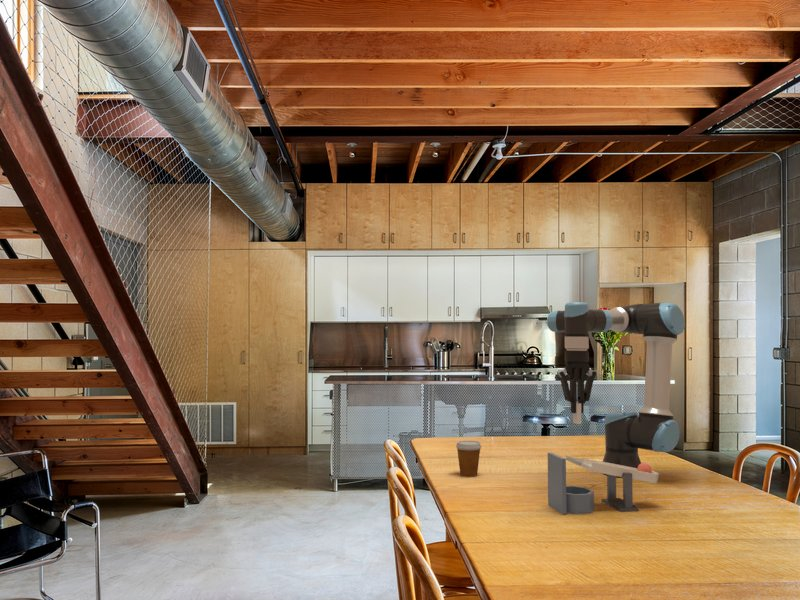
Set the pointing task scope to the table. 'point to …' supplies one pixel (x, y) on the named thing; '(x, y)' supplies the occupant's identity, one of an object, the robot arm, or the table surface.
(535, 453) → the table surface
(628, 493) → the trough stand
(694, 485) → the table surface
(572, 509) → the cup
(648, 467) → the rubber ball
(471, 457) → the disposable coffee cup
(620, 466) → the lever
